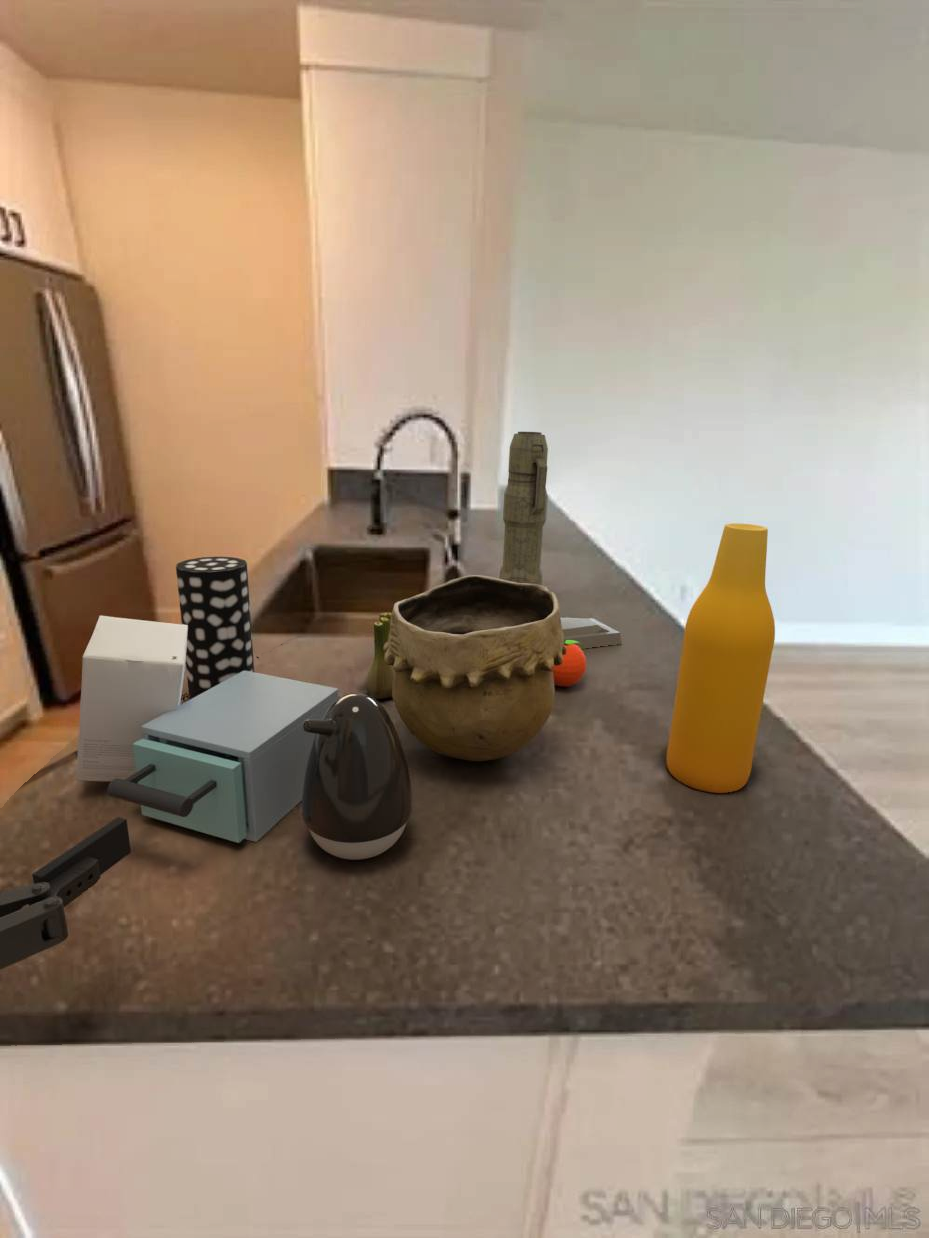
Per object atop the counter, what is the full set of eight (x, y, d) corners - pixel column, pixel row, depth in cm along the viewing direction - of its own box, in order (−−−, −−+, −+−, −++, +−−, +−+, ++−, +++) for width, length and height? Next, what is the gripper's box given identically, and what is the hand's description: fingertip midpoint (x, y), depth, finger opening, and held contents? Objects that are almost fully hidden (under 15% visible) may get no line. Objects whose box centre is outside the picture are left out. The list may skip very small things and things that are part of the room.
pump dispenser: (281, 839, 64) (272, 693, 59) (369, 799, 71) (367, 665, 66) (343, 895, 57) (338, 734, 53) (433, 843, 64) (437, 698, 60)
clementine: (568, 671, 107) (572, 629, 105) (598, 687, 102) (603, 642, 99) (528, 680, 103) (531, 637, 101) (558, 697, 97) (562, 651, 95)
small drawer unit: (256, 842, 64) (249, 752, 61) (151, 812, 68) (140, 726, 65) (340, 764, 78) (338, 688, 75) (249, 743, 82) (244, 670, 79)
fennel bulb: (381, 706, 93) (380, 623, 89) (355, 696, 95) (354, 616, 92) (409, 693, 97) (409, 614, 93) (384, 684, 100) (384, 607, 96)
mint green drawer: (202, 875, 58) (194, 796, 55) (100, 843, 61) (89, 767, 59) (322, 768, 75) (320, 704, 73) (237, 748, 79) (233, 686, 76)
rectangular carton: (176, 734, 79) (191, 623, 74) (169, 785, 72) (186, 664, 66) (89, 729, 76) (98, 612, 70) (72, 781, 68) (81, 655, 63)
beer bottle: (746, 762, 81) (790, 523, 72) (750, 802, 73) (800, 538, 64) (667, 747, 84) (700, 516, 75) (662, 784, 76) (698, 529, 67)
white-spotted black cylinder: (239, 727, 85) (227, 574, 79) (178, 720, 87) (161, 569, 80) (267, 700, 93) (258, 559, 87) (211, 694, 94) (198, 554, 88)
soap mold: (622, 644, 120) (624, 625, 119) (522, 656, 113) (523, 636, 112) (590, 626, 129) (592, 609, 128) (496, 637, 122) (497, 618, 121)
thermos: (519, 613, 136) (531, 433, 125) (486, 598, 145) (494, 430, 135) (553, 607, 141) (567, 434, 130) (518, 593, 150) (528, 430, 139)
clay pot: (477, 823, 68) (485, 636, 61) (348, 747, 81) (344, 588, 75) (592, 753, 82) (609, 596, 76) (466, 699, 96) (471, 562, 90)
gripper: (-473, 1035, 35) (-55, 818, 54) (-173, 1238, 27) (195, 900, 46) (-533, 919, 33) (-74, 734, 52) (-224, 1103, 25) (184, 806, 44)
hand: (53, 812), depth 49 cm, fingers open, 13 cm apart
